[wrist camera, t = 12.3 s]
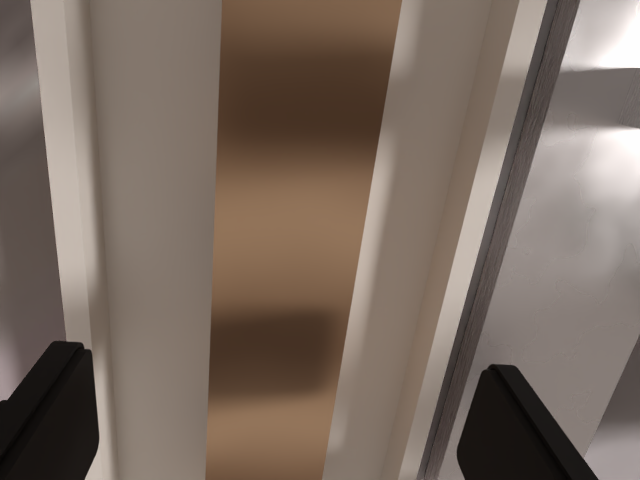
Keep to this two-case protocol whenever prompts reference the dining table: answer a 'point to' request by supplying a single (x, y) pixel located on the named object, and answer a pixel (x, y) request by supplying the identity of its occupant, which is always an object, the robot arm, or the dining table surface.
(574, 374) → the steel stand
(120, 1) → the off-white tray
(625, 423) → the dining table surface
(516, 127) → the dining table surface
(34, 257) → the dining table surface
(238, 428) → the walnut rail
